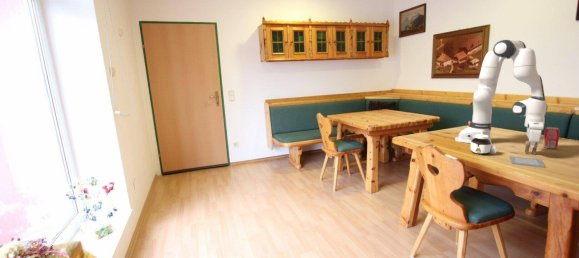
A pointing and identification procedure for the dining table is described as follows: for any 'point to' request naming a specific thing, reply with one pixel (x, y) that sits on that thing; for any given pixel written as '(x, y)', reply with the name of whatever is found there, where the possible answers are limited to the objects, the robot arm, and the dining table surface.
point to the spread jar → (482, 145)
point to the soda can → (551, 137)
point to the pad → (526, 161)
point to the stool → (529, 146)
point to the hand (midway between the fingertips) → (531, 145)
